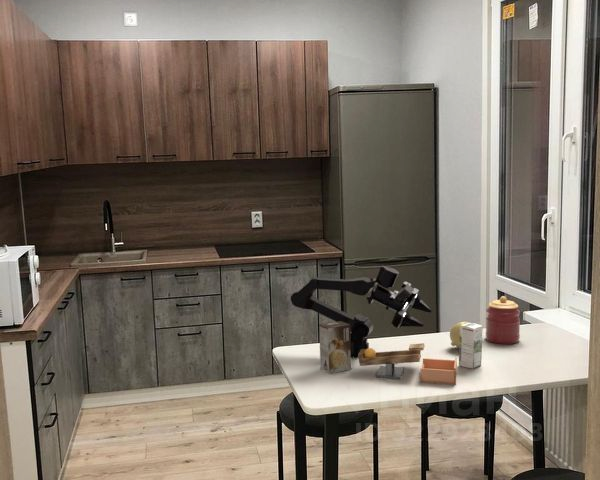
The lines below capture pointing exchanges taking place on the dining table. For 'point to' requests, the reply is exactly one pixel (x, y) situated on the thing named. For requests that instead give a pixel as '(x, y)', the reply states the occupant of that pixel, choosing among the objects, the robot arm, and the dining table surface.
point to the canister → (502, 322)
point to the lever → (393, 356)
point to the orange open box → (439, 371)
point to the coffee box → (335, 347)
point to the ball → (369, 353)
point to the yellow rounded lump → (456, 334)
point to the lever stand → (390, 372)
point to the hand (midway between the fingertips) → (427, 318)
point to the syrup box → (470, 345)
